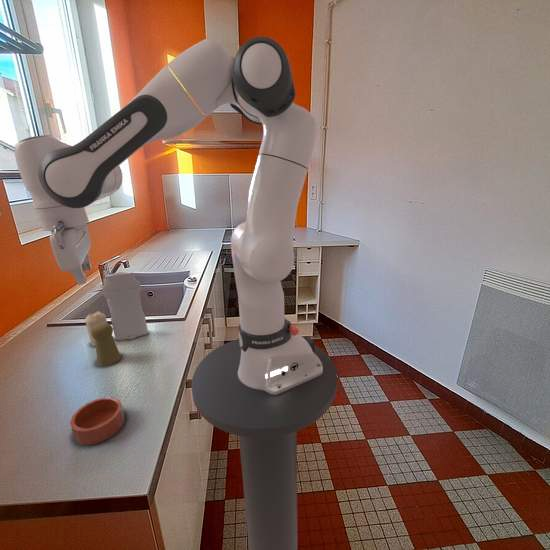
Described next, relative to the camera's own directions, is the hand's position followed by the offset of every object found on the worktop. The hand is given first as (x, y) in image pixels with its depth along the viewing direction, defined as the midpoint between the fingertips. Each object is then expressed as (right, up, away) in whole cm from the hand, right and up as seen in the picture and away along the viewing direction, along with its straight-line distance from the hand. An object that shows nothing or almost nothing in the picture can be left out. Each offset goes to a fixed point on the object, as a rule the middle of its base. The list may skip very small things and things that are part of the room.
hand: (85, 276), depth 71 cm
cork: (-2, -24, +15) cm, 29 cm away
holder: (+8, -32, -8) cm, 34 cm away
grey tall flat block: (-2, -20, +27) cm, 34 cm away
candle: (-10, -21, +24) cm, 34 cm away
